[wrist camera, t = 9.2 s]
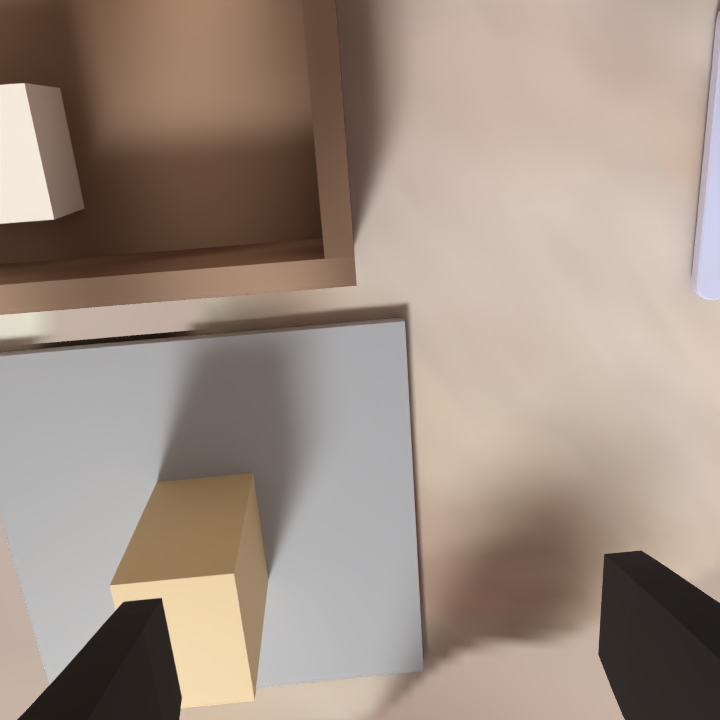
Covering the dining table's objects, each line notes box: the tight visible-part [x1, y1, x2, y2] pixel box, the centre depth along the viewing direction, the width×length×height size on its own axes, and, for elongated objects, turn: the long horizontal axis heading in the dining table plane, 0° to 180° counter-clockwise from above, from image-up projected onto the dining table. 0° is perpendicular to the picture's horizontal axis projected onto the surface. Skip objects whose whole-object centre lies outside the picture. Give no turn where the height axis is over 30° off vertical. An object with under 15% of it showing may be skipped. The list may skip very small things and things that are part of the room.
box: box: [0, 0, 357, 315], centre depth 16 cm, size 12×12×4 cm
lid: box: [0, 317, 424, 708], centre depth 20 cm, size 13×13×6 cm
